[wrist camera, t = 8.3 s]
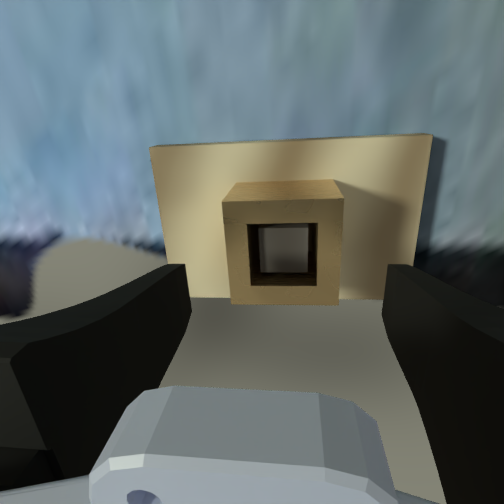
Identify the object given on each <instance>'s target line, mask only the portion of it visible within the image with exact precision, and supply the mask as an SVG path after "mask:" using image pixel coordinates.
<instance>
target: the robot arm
mask: <svg viewBox="0 0 504 504" xmlns="http://www.w3.org/2000/svg"><path fill="white" fill-rule="evenodd" d="M191 312H192V309H191V301H190V294H189V287H188V280H187V273H186V266H185V264H167V265H164V266H162V267H160V268H157V269H155V270H153V271H151V272H149V273H147V274H145V275H143V276H141V277H139V278H137V279H135V280H133V281H131V282H129V283H127V284H125V285H123V286H121V287H119V288H116V289H114V290H112V291H110V292H108V293H106V294H104V295H101V296H99V297H96V298H94V299H91V300H88V301H86V302H83V303H80V304H77V305H75V306H72V307H68V308H65V309H62V310H58V311H55V312H51V313H48V314H45V315H41V316H37V317H33V318H29V319H25V320H21V321H16V322H11V323H6V324H2V325H0V504H439V503H436V502H432V501H429V500H426V499H423V498H420V497H417V496H413V495H410V494H407V493H404V492H401V491H398V490H395V488H394V485H393V481H392V477H391V473H390V470H389V466H388V463H387V458H386V455H385V451H384V447H383V444H382V440H381V436H380V433H379V429H378V425H377V421H375V420H374V419H373V418H372V417H371V416H369V415H368V414H367V413H366V412H365V411H364V410H362V409H361V408H360V407H359V406H357V405H356V404H355V403H354V402H352V401H349V400H345V399H341V398H337V397H333V396H329V395H324V394H321V393H313V392H292V391H272V390H251V389H250V390H249V389H231V388H211V387H191V386H190V387H189V386H170V387H164V388H158V387H159V385H160V383H161V381H162V379H163V377H164V375H165V372H166V371H167V369H168V367H169V365H170V363H171V361H172V359H173V357H174V355H175V353H176V351H177V349H178V347H179V344H180V342H181V340H182V338H183V336H184V334H185V332H186V329H187V326H188V322H189V319H190V316H191ZM382 318H383V322H384V325H385V329H386V333H387V336H388V339H389V342H390V344H391V346H392V349H393V351H394V353H395V355H396V358H397V360H398V362H399V364H400V367H401V369H402V371H403V373H404V375H405V378H406V380H407V382H408V384H409V386H410V389H411V391H412V393H413V396H414V398H415V400H416V403H417V406H418V408H419V411H420V414H421V418H422V421H423V424H424V427H425V430H426V433H427V436H428V440H429V443H430V446H431V450H432V453H433V456H434V460H435V463H436V466H437V470H438V473H439V477H440V481H441V485H442V488H443V492H444V496H445V499H446V503H447V504H504V309H502V308H499V307H497V306H494V305H492V304H489V303H487V302H484V301H482V300H480V299H478V298H475V297H473V296H471V295H469V294H467V293H464V292H462V291H460V290H458V289H456V288H454V287H452V286H450V285H448V284H446V283H444V282H442V281H441V280H439V279H437V278H435V277H433V276H431V275H429V274H427V273H425V272H423V271H421V270H419V269H417V268H415V267H413V266H411V265H408V264H388V266H387V274H386V283H385V291H384V299H383V308H382Z"/></svg>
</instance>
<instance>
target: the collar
mask: <svg viewBox="0 0 504 504" xmlns="http://www.w3.org/2000/svg"><path fill="white" fill-rule="evenodd" d="M222 212H223V223H224V234H225V244H226V255H227V266H228V276H229V287H230V298H231V304H250V305H254V304H255V305H258V304H259V305H339V287H340V268H341V250H342V231H343V212H344V197H343V195H342V194H341V192H340V190H339V189H338V187H337V185H336V184H335V182H334V180H333V179H322V180H294V181H265V182H236V183H235V185H234V186H233V187H232V189H231V190H230V191H229V192H228V194H227V195H226V196H225V198H224V199H223V200H222ZM272 223H312V251H308V272H261V270H260V252H259V251H258V232H257V224H272Z"/></svg>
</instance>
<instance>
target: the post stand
mask: <svg viewBox="0 0 504 504" xmlns="http://www.w3.org/2000/svg"><path fill="white" fill-rule="evenodd" d="M432 138H433V135H431V134H425V133H417V134H395V135H372V136H350V137H328V138H306V139H284V140H262V141H239V142H217V143H195V144H173V145H156V146H152V147H149V151H150V157H151V163H152V169H153V175H154V181H155V187H156V193H157V199H158V205H159V211H160V217H161V223H162V229H163V235H164V241H165V247H166V253H167V260H168V264H185V266H186V273H187V280H188V287H189V294H190V297H218V298H223V297H224V298H230V287H229V276H228V266H227V255H226V244H225V234H224V223H223V212H222V200H223V199H224V198H225V196H226V195H227V194H228V192H229V191H230V190H231V189H232V187H233V186H234V185H235V183H236V182H265V181H294V180H322V179H333V180H334V182H335V184H336V185H337V187H338V189H339V190H340V192H341V194H342V195H343V197H344V212H343V231H342V250H341V268H340V287H339V299H381V300H383V299H384V291H385V283H386V274H387V266H388V264H408V265H411V266H413V262H414V255H415V249H416V242H417V236H418V229H419V223H420V216H421V210H422V203H423V197H424V190H425V184H426V177H427V170H428V164H429V157H430V151H431V144H432ZM257 232H258V251H259V252H260V270H261V272H308V251H312V223H272V224H257Z"/></svg>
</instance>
